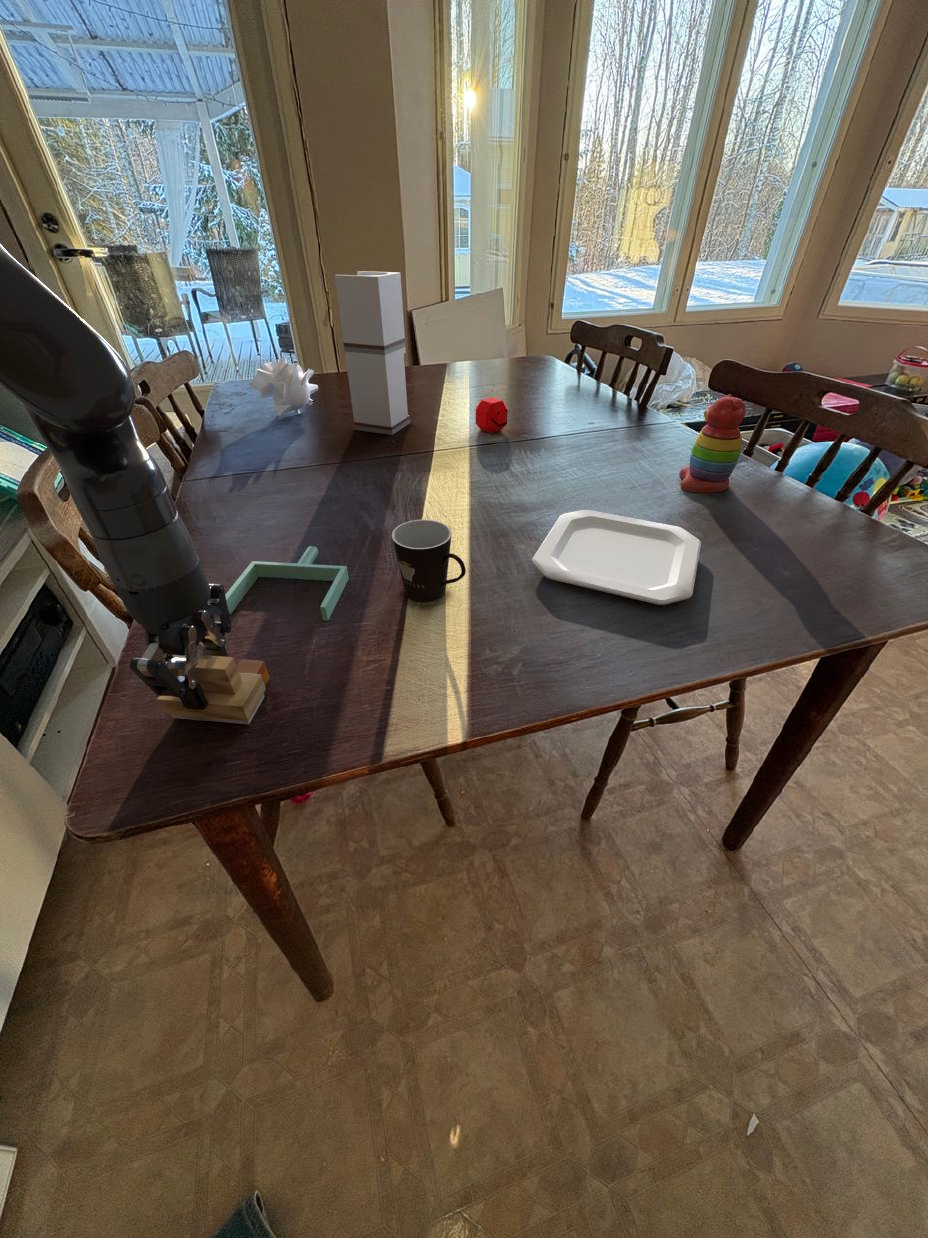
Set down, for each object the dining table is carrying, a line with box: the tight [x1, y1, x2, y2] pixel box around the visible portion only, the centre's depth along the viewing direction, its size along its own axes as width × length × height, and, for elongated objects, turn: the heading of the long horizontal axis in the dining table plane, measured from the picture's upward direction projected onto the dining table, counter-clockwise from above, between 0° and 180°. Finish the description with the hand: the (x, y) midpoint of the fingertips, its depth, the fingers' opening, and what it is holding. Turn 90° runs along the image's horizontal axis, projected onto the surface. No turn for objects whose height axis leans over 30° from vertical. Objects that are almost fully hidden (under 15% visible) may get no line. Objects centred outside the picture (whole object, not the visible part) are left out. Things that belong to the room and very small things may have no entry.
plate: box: [531, 509, 702, 606], centre depth 86 cm, size 25×25×2 cm
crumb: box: [236, 659, 270, 687], centre depth 63 cm, size 3×3×3 cm
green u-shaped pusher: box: [225, 545, 350, 621], centre depth 80 cm, size 17×16×2 cm
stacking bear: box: [678, 393, 747, 494], centre depth 105 cm, size 11×10×18 cm
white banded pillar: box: [334, 270, 411, 436], centre depth 130 cm, size 11×11×35 cm
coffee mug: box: [391, 519, 467, 603], centre depth 76 cm, size 12×9×10 cm
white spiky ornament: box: [249, 355, 319, 417], centre depth 147 cm, size 20×17×15 cm
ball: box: [475, 397, 509, 434], centre depth 136 cm, size 8×8×8 cm
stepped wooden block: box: [156, 654, 267, 725], centre depth 58 cm, size 10×5×8 cm, turn 84°
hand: (210, 688), depth 59 cm, fingers closed on stepped wooden block, 5 cm apart
